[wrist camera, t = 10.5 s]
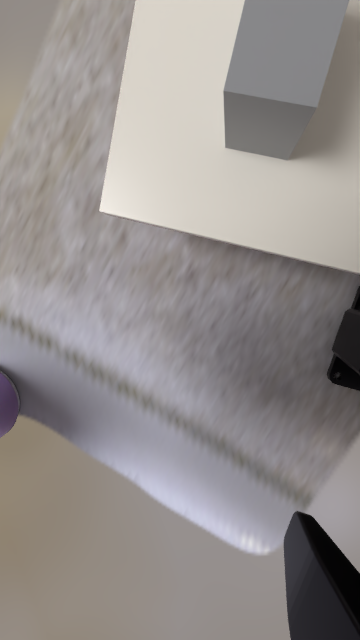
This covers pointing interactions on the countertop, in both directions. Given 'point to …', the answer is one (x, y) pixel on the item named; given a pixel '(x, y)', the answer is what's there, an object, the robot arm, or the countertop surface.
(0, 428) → the beverage can
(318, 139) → the cover sheet
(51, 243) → the countertop surface
